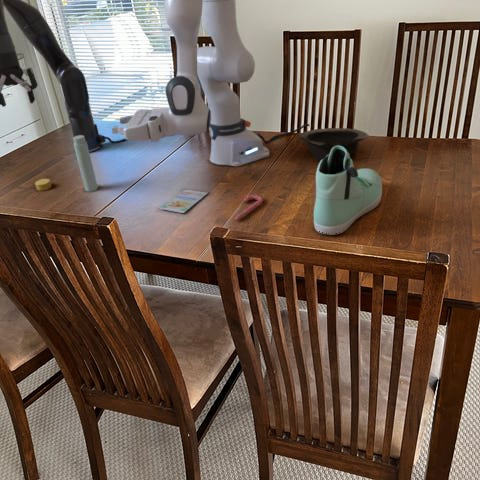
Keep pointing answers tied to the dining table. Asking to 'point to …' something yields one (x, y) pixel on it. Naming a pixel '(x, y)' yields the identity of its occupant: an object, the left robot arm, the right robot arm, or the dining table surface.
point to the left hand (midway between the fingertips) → (18, 104)
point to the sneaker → (343, 192)
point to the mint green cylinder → (85, 163)
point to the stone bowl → (332, 140)
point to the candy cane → (250, 206)
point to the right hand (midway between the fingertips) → (116, 125)
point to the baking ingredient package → (183, 201)
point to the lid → (43, 184)
